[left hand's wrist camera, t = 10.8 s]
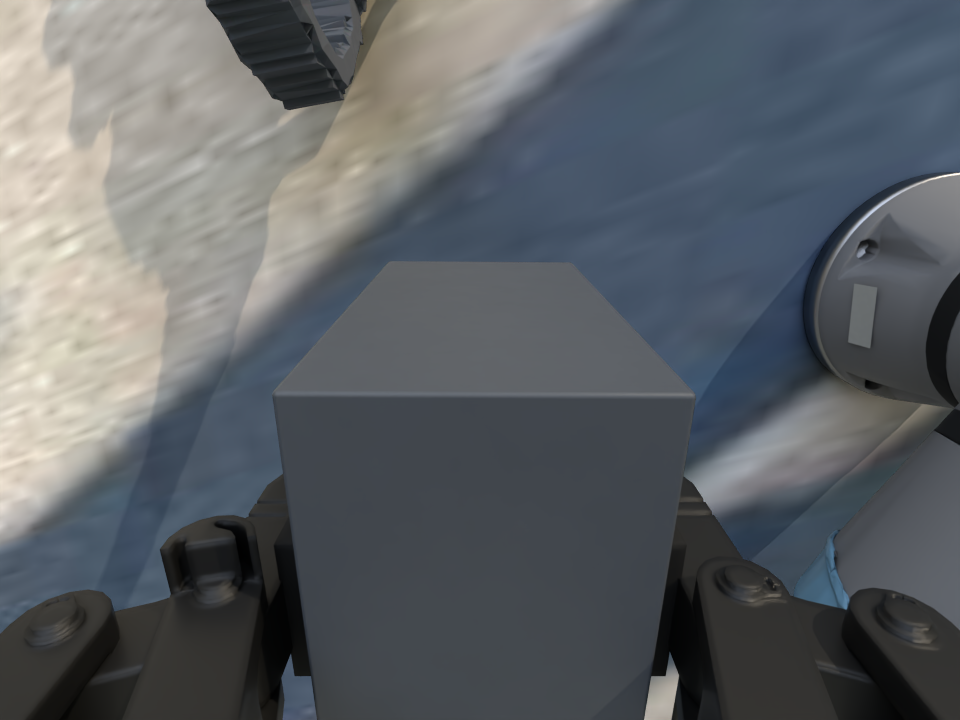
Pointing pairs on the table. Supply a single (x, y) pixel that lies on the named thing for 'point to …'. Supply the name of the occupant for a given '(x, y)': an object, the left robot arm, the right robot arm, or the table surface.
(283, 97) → the toy
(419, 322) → the post
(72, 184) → the table surface
